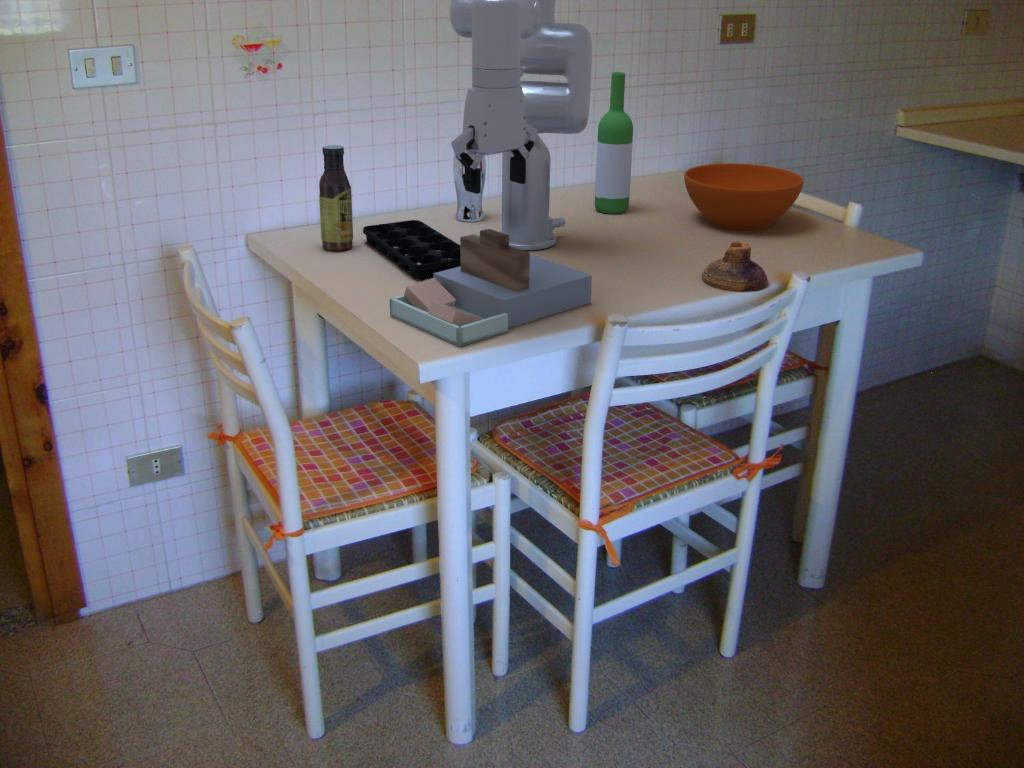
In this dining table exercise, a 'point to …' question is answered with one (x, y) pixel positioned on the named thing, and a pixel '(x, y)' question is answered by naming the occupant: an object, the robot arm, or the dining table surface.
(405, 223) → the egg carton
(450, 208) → the dining table surface
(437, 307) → the tile
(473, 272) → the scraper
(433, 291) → the tile
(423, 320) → the tray
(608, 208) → the wine bottle
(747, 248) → the bell
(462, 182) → the beer glass
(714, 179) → the bowl
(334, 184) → the sauce bottle
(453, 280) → the board
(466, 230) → the dining table surface
